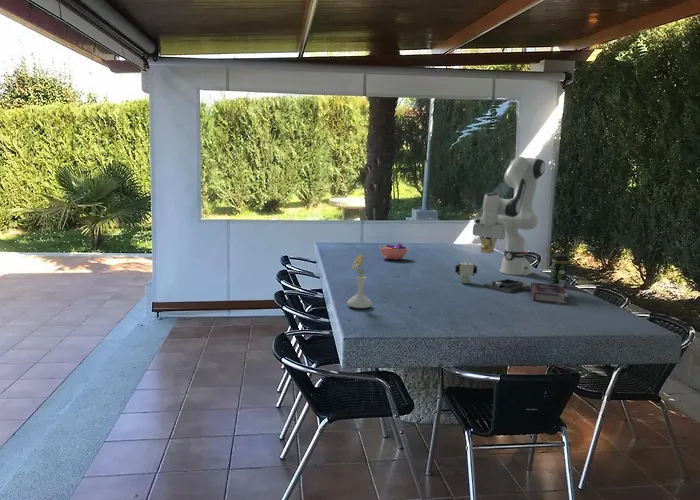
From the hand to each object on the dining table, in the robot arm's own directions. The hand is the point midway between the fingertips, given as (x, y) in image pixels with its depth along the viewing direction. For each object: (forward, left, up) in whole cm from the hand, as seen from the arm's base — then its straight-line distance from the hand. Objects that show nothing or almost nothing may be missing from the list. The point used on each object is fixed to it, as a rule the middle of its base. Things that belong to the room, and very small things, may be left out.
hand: (487, 245), depth 331 cm
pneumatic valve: (+15, -3, -21) cm, 26 cm away
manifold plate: (+6, +19, -21) cm, 29 cm away
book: (+5, +43, -21) cm, 48 cm away
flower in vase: (+104, +6, -21) cm, 106 cm away
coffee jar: (-26, +31, -21) cm, 45 cm away
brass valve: (0, 0, -4) cm, 4 cm away
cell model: (-3, -77, -21) cm, 80 cm away
